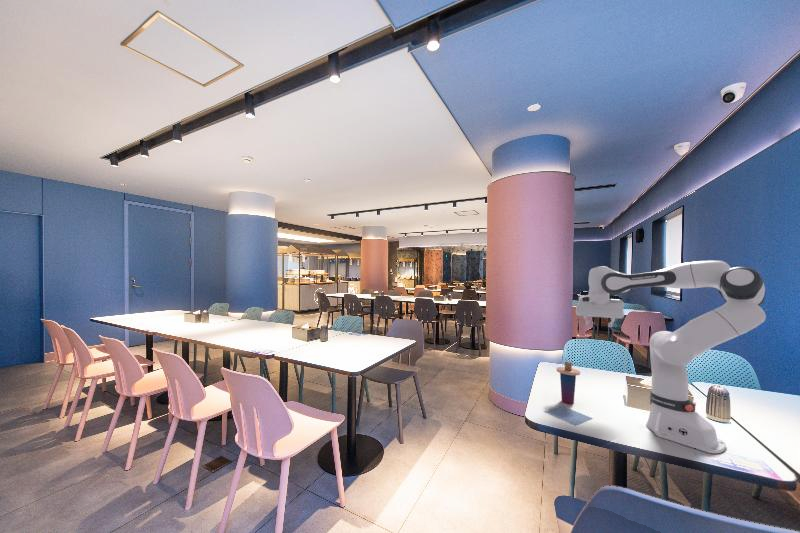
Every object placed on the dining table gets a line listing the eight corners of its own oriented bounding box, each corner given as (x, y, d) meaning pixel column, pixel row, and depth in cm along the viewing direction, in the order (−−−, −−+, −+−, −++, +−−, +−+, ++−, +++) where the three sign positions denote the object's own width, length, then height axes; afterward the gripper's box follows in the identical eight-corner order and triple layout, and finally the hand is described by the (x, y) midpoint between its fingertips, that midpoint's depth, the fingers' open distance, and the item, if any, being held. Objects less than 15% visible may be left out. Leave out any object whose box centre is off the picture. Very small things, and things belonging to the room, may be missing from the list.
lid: (584, 373, 145) (584, 363, 145) (572, 376, 140) (572, 366, 140) (564, 367, 154) (564, 357, 154) (552, 370, 148) (552, 360, 148)
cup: (578, 406, 142) (578, 374, 143) (562, 405, 144) (562, 373, 144) (572, 400, 149) (573, 370, 149) (557, 399, 151) (558, 369, 151)
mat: (593, 419, 130) (593, 418, 130) (575, 426, 124) (575, 425, 124) (561, 406, 142) (561, 405, 142) (544, 412, 136) (544, 411, 136)
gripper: (622, 299, 151) (623, 326, 151) (575, 297, 160) (575, 323, 160) (625, 299, 146) (625, 328, 145) (576, 298, 155) (576, 325, 154)
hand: (598, 326), depth 153 cm, fingers open, 8 cm apart
